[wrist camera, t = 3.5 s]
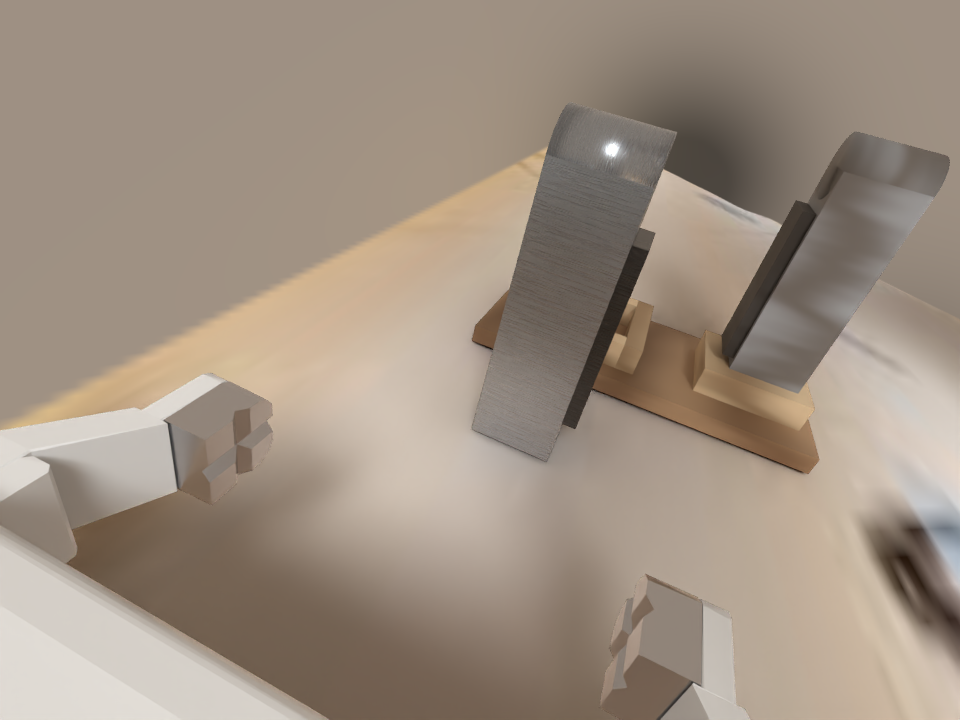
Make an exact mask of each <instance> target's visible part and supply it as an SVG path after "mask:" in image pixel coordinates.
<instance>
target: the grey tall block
mask: <svg viewBox="0 0 960 720" xmlns="http://www.w3.org/2000/svg"><path fill="white" fill-rule="evenodd" d="M676 134H677V132H674V131H670V130H667V129H663V128H660V127H656V126H653V125H649V124H646V123H642V122H639V121H635V120H632V119H628V118H625V117H621V116H618V115H614V114H611V113H607V112H603V111H600V110H596V109H593V108H590V107H586V106H583V105H579V104H575V103H572V102H570V103H568V104H567V105H566V107H565V108H564V110H563V111H562V113H561V115H560V117H559V119H558V122H557V124H556V126H555V129H554V131H553V134H552V137H551V140H550V143H549V146H548V149H547V153H546V156H545V160H544V164H543V167H542V171H541V175H540V179H539V182H538V186H537V190H536V193H535V197H534V201H533V204H532V208H531V212H530V215H529V219H528V223H527V226H526V230H525V234H524V237H523V241H522V245H521V249H520V252H519V256H518V260H517V263H516V267H515V271H514V274H513V278H512V282H511V285H510V289H509V293H508V296H507V300H506V304H505V308H504V311H503V315H502V319H501V322H500V326H499V330H498V333H497V337H496V341H495V344H494V348H493V352H492V355H491V359H490V363H489V366H488V370H487V374H486V378H485V381H484V385H483V389H482V392H481V396H480V400H479V403H478V407H477V411H476V414H475V418H474V422H473V425H472V430H475V431H477V432H479V433H482V434H484V435H486V436H489V437H491V438H493V439H495V440H498V441H500V442H502V443H505V444H507V445H509V446H512V447H514V448H516V449H518V450H521V451H523V452H525V453H528V454H530V455H532V456H535V457H537V458H539V459H541V460H544V461H546V462H547V459H548V457H549V454H550V452H551V450H552V447H553V445H554V443H555V440H556V438H557V435H558V433H559V431H560V428H561V426H562V424H564V425H567V426H569V427H571V428H574V429H575V428H576V426H577V424H578V421H579V419H580V416H581V414H582V411H583V409H584V407H585V404H586V402H587V399H588V397H589V395H590V392H591V390H592V387H593V385H594V383H595V380H596V378H597V375H598V373H599V371H600V368H601V366H602V363H603V361H604V359H605V356H606V354H607V351H608V349H609V347H610V344H611V342H612V339H613V337H614V335H615V332H616V330H617V327H618V325H619V323H620V320H621V318H622V315H623V313H624V311H625V308H626V306H627V303H628V301H629V298H630V296H631V294H632V291H633V289H634V286H635V284H636V282H637V279H638V277H639V274H640V272H641V270H642V267H643V265H644V262H645V260H646V258H647V255H648V253H649V250H650V247H651V244H652V242H653V239H654V236H655V233H654V232H651V231H648V230H645V229H642V228H640V226H641V224H642V221H643V219H644V216H645V214H646V211H647V209H648V206H649V203H650V201H651V198H652V196H653V193H654V191H655V188H656V186H657V183H658V181H659V178H660V176H661V173H662V171H663V168H664V166H665V163H666V160H667V158H668V155H669V153H670V150H671V147H672V145H673V142H674V140H675V137H676Z"/></svg>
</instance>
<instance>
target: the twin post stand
mask: <svg viewBox="0 0 960 720" xmlns="http://www.w3.org/2000/svg"><path fill="white" fill-rule="evenodd" d="M949 161H950V160H949V157H948V156H946V155H942V154H939V153H935V152H931V151H927V150H923V149H920V148H916V147H912V146H909V145H905V144H901V143H897V142H894V141H890V140H886V139H882V138H879V137H874V136H871V135H867V134H864V133H860V132H854V133H852V134H851V135H850V136H849V137H848V138H847V139H846V140H845V141H844V143H843V144H842V145H841V147H840V148H839V149H838V151H837V153H836V154H835V156H834V157H833V159H832V161H831V162H830V165H829V166H828V168H827V170H826V171H825V173H824V175H823V177H822V178H821V180H820V182H819V184H818V186H817V187H816V189H815V191H814V193H813V194H812V196H811V198H810V200H809V202H808V203H803V202H800V201H795V203H794V205H793V207H792V209H791V211H790V212H789V214H788V216H787V218H786V220H785V222H784V223H783V225H782V227H781V229H780V231H779V232H778V234H777V236H776V238H775V240H774V242H773V243H772V245H771V247H770V249H769V251H768V252H767V254H766V256H765V258H764V260H763V262H762V263H761V265H760V267H759V269H758V271H757V272H756V274H755V276H754V278H753V280H752V282H751V283H750V285H749V287H748V289H747V291H746V292H745V294H744V296H743V298H742V300H741V302H740V303H739V305H738V307H737V309H736V311H735V312H734V314H733V316H732V318H731V320H730V322H729V323H728V325H727V327H726V329H725V331H724V332H723V334H722V336H721V335H719V334H716V333H713V332H710V331H707V330H706V331H705V332H704V334H703V336H702V338H701V339H700V338H697V337H694V336H692V335H689V334H686V333H683V332H681V331H678V330H675V329H672V328H670V327H667V326H664V325H661V324H659V323H656V322H653V321H650V320H651V316H652V312H653V308H654V306H652V305H649V304H646V303H644V302H641V301H638V300H635V299H632V298H629V301H628V303H627V306H626V308H625V311H624V313H623V315H622V318H621V320H620V323H619V325H618V327H617V330H616V332H615V335H614V337H613V339H612V342H611V344H610V347H609V349H608V351H607V354H606V356H605V359H604V361H603V363H602V366H601V368H600V371H599V373H598V375H597V378H596V380H595V383H594V385H593V387H592V388H593V389H595V390H598V391H600V392H603V393H606V394H608V395H611V396H613V397H616V398H618V399H621V400H623V401H626V402H628V403H631V404H633V405H636V406H638V407H641V408H643V409H646V410H648V411H651V412H653V413H656V414H658V415H661V416H663V417H666V418H668V419H671V420H673V421H676V422H678V423H681V424H684V425H686V426H689V427H691V428H694V429H696V430H699V431H701V432H704V433H706V434H709V435H711V436H714V437H716V438H719V439H721V440H724V441H726V442H729V443H731V444H734V445H736V446H739V447H741V448H744V449H746V450H749V451H751V452H754V453H756V454H759V455H761V456H764V457H767V458H769V459H772V460H774V461H777V462H779V463H782V464H784V465H787V466H789V467H792V468H794V469H797V470H799V471H802V472H804V473H807V474H809V472H810V471H811V470H812V469H813V467H814V466H815V465H816V464H817V462H818V461H819V456H818V453H817V449H816V446H815V442H814V439H813V435H812V431H811V428H810V424H809V421H808V418H809V417H810V415H811V414H812V413H813V411H814V410H815V407H814V404H813V401H812V398H811V394H810V391H809V388H808V385H807V380H808V379H809V378H810V376H811V375H812V373H813V372H814V370H815V369H816V367H817V366H818V365H819V363H820V362H821V360H822V359H823V357H824V356H825V355H826V353H827V352H828V350H829V349H830V347H831V346H832V344H833V343H834V342H835V340H836V339H837V337H838V336H839V334H840V333H841V331H842V330H843V329H844V327H845V326H846V324H847V323H848V321H849V320H850V319H851V317H852V316H853V314H854V313H855V311H856V310H857V308H858V307H859V306H860V304H861V303H862V301H863V300H864V298H865V297H866V295H867V294H868V293H869V291H870V290H871V288H872V287H873V285H874V284H875V282H876V281H877V280H878V278H879V277H880V275H881V274H882V272H883V271H884V270H885V268H886V267H887V265H888V264H889V262H890V261H891V259H892V258H893V257H894V255H895V254H896V252H897V251H898V249H899V247H900V246H901V245H902V244H903V242H904V241H905V239H906V238H907V236H908V235H909V234H910V232H911V231H912V229H913V227H914V226H915V224H916V223H917V222H918V221H919V219H920V218H921V216H922V215H923V213H924V212H925V210H926V209H927V208H928V206H929V205H930V203H931V202H932V200H933V199H934V197H935V196H936V194H937V193H938V191H939V190H940V188H941V186H942V184H943V182H944V180H945V178H946V175H947V173H948V170H949V163H950V162H949ZM508 293H509V290H508V291H507V292H506V293H505V294H504V295H503V296H502V297H501V298H500V300H499V301H498V302H497V303H496V304H495V305H494V306H493V307H492V308H491V309H490V310H489V311H488V312H487V314H486V315H485V316H484V317H483V318H482V319H481V320H480V321H479V322H478V323H477V324H476V325H475V329H474V334H473V338H472V341H475V342H477V343H480V344H482V345H485V346H487V347H490V348H492V349H493V348H494V344H495V341H496V337H497V333H498V330H499V326H500V322H501V319H502V315H503V311H504V308H505V304H506V300H507V296H508Z"/></svg>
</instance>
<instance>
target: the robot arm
mask: <svg viewBox="0 0 960 720" xmlns="http://www.w3.org/2000/svg"><path fill="white" fill-rule="evenodd" d="M271 416H273V413H272V403H271V402H269V401H268V400H266V399H264V398H262V397H260V396H258V395H256V394H254V393H252V392H250V391H248V390H246V389H244V388H242V387H240V386H238V385H236V384H234V383H232V382H229V381H227V380H225V379H223V378H221V377H219V376H217V375H215V374H213V373H207V374H202V375H200V376H199V377H197V378H195V379H193V380H192V381H190V382H188V383H187V384H185V385H183V386H182V387H180V388H178V389H176V390H175V391H173V392H171V393H170V394H168V395H166V396H165V397H163V398H161V399H159V400H158V401H156V402H154V403H153V404H151V405H149V406H148V407H146V408H144V409H142V410H140V409H138V408H129V409H123V410H118V411H112V412H106V413H100V414H94V415H89V416H83V417H77V418H71V419H65V420H59V421H54V422H48V423H42V424H36V425H30V426H24V427H19V428H13V429H7V430H1V431H0V720H330V719H328V718H327V717H325V716H323V715H321V714H320V713H318V712H316V711H315V710H313V709H311V708H310V707H308V706H306V705H305V704H303V703H301V702H299V701H298V700H296V699H294V698H293V697H291V696H289V695H288V694H286V693H284V692H283V691H281V690H279V689H277V688H276V687H274V686H272V685H271V684H269V683H267V682H266V681H264V680H262V679H261V678H259V677H257V676H255V675H254V674H252V673H250V672H249V671H247V670H245V669H244V668H242V667H240V666H239V665H237V664H235V663H233V662H232V661H230V660H228V659H227V658H225V657H223V656H222V655H220V654H218V653H217V652H215V651H213V650H211V649H210V648H208V647H206V646H205V645H203V644H201V643H200V642H198V641H196V640H195V639H193V638H191V637H189V636H188V635H186V634H184V633H183V632H181V631H179V630H178V629H176V628H174V627H172V626H171V625H169V624H167V623H166V622H164V621H162V620H161V619H159V618H157V617H156V616H154V615H152V614H150V613H149V612H147V611H145V610H144V609H142V608H140V607H139V606H137V605H135V604H133V603H132V602H130V601H128V600H127V599H125V598H123V597H122V596H120V595H118V594H117V593H115V592H113V591H111V590H110V589H108V588H106V587H105V586H103V585H101V584H100V583H98V582H96V581H94V580H93V579H91V578H89V577H88V576H86V575H84V574H83V573H81V572H79V571H78V570H76V569H74V568H72V567H71V566H69V565H67V564H66V563H67V562H68V561H70V560H71V559H72V558H73V557H75V556H76V553H77V549H78V548H77V545H76V542H75V539H74V536H73V533H72V529H75V528H78V527H81V526H83V525H86V524H89V523H92V522H94V521H97V520H100V519H102V518H105V517H108V516H111V515H113V514H116V513H119V512H122V511H124V510H127V509H130V508H133V507H135V506H138V505H141V504H144V503H146V502H149V501H152V500H155V499H157V498H160V497H163V496H166V495H168V494H171V493H174V492H177V491H178V490H177V489H179V490H181V491H183V492H185V493H187V494H190V495H192V496H194V497H196V498H198V499H200V500H202V501H204V502H206V503H208V504H210V505H213V504H214V503H215V502H216V501H218V500H219V499H220V498H221V497H222V496H223V495H225V494H226V493H227V492H228V491H229V490H230V489H232V488H233V487H234V486H235V485H236V484H237V478H238V474H242V473H245V472H249V471H252V470H253V469H254V468H256V467H257V466H258V465H259V464H260V463H261V462H262V461H263V459H264V458H265V456H266V455H267V453H268V452H269V450H270V447H271V444H272V440H273V431H272V429H271V427H270V425H269V424H268V422H267V420H268V419H269V418H270V417H271ZM610 651H611V653H612V656H613V658H614V659H613V661H612V662H611V664H610V665H609V667H608V668H607V670H606V671H605V677H604V683H603V689H602V695H601V701H600V707H599V708H601V709H602V710H604V711H606V712H608V713H610V714H611V715H613V716H615V717H617V718H619V719H620V720H751V719H750V717H749V715H748V713H747V711H746V710H745V709H744V708H742V707H740V706H738V705H737V704H736V691H735V671H734V650H733V630H732V617H731V615H730V613H729V612H728V611H726V610H724V609H722V608H719V607H717V606H715V605H713V604H711V603H708V602H706V601H704V600H702V599H699V598H698V597H696V596H694V595H691V594H689V593H687V592H685V591H682V590H680V589H678V588H676V587H673V586H671V585H669V584H667V583H665V582H662V581H660V580H658V579H656V578H653V577H651V576H649V575H647V574H645V575H643V576H642V577H641V578H640V580H639V581H638V583H637V584H636V587H635V594H634V598H630V599H627V600H626V601H625V603H624V605H623V607H622V608H621V610H620V612H619V615H618V617H617V620H616V622H615V625H614V629H613V633H612V637H611V643H610Z"/></svg>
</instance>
